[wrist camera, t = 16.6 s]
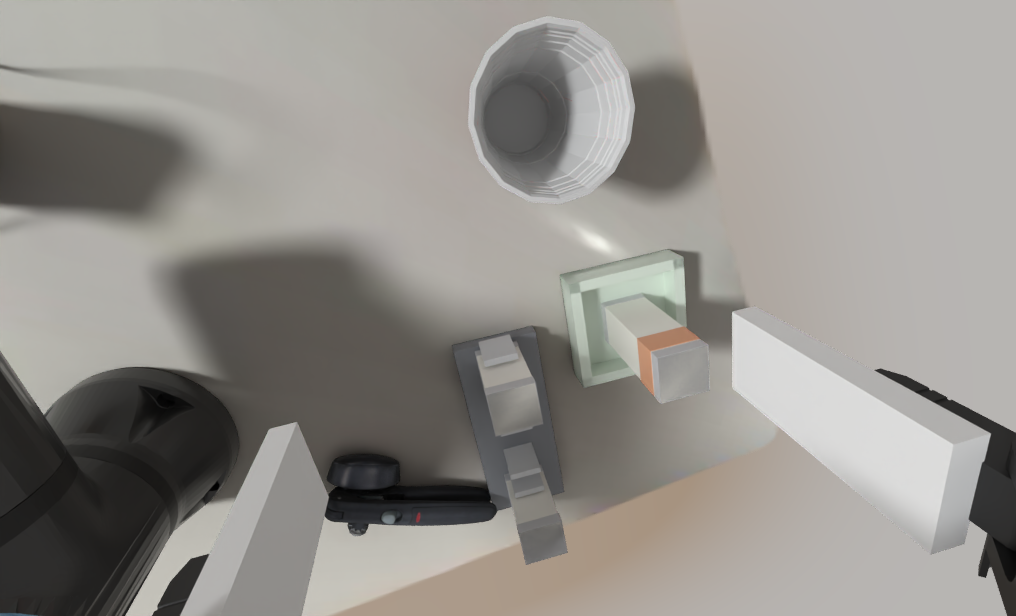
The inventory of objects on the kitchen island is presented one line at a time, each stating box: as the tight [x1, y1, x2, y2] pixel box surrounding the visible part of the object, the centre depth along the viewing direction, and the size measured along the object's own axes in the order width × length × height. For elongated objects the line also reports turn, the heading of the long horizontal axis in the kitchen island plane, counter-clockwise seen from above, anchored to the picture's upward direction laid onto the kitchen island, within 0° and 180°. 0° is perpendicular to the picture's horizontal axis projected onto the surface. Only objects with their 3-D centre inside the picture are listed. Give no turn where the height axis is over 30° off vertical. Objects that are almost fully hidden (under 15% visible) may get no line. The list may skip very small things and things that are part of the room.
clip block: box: [452, 326, 564, 511], centre depth 49 cm, size 8×21×6 cm, turn 11°
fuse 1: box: [475, 341, 543, 436], centre depth 43 cm, size 4×4×8 cm
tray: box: [560, 249, 687, 388], centre depth 48 cm, size 11×11×3 cm
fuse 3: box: [601, 293, 710, 404], centre depth 43 cm, size 4×4×12 cm
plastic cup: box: [468, 16, 635, 204], centre depth 35 cm, size 11×11×12 cm
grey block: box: [504, 465, 567, 565], centre depth 49 cm, size 4×4×8 cm
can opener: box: [325, 454, 497, 536], centre depth 50 cm, size 18×7×6 cm, turn 71°
